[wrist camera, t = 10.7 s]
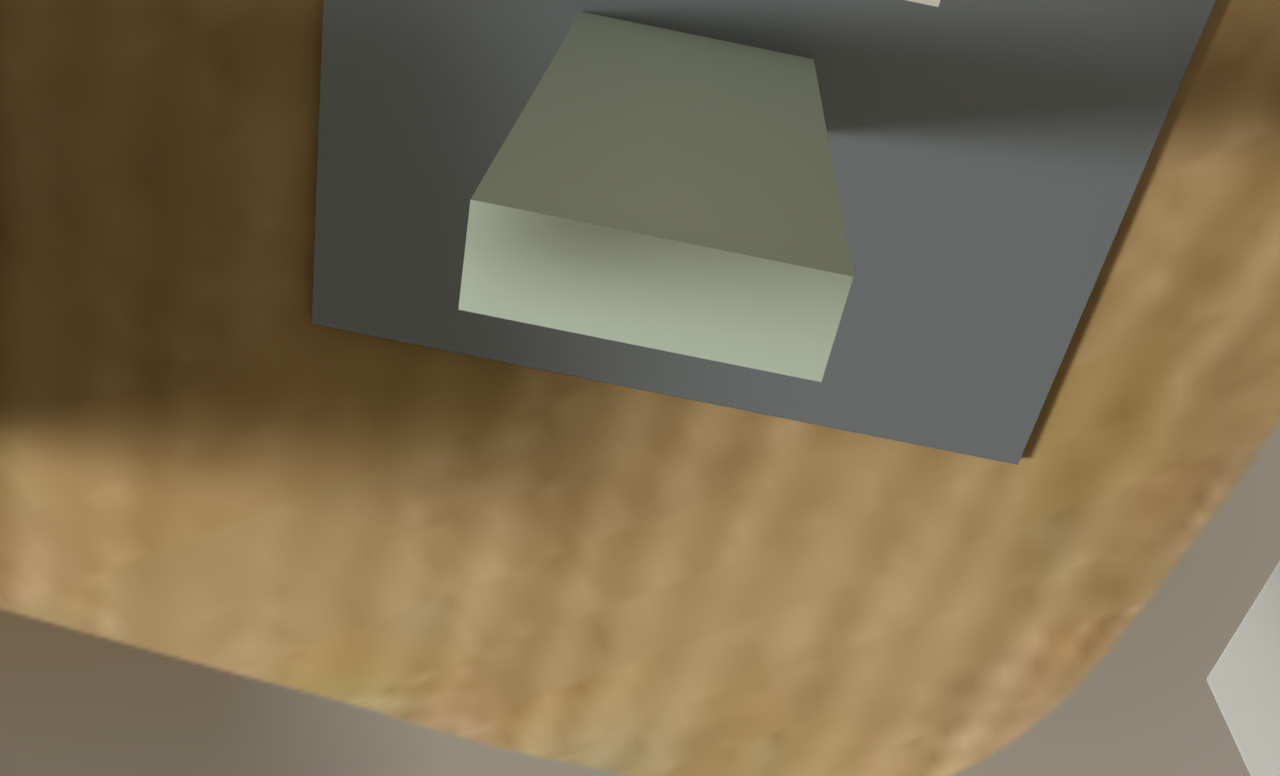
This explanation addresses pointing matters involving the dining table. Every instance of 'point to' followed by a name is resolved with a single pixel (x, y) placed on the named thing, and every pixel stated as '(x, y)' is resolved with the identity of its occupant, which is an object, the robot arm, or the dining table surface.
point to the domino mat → (864, 170)
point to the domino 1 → (667, 202)
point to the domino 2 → (927, 2)
